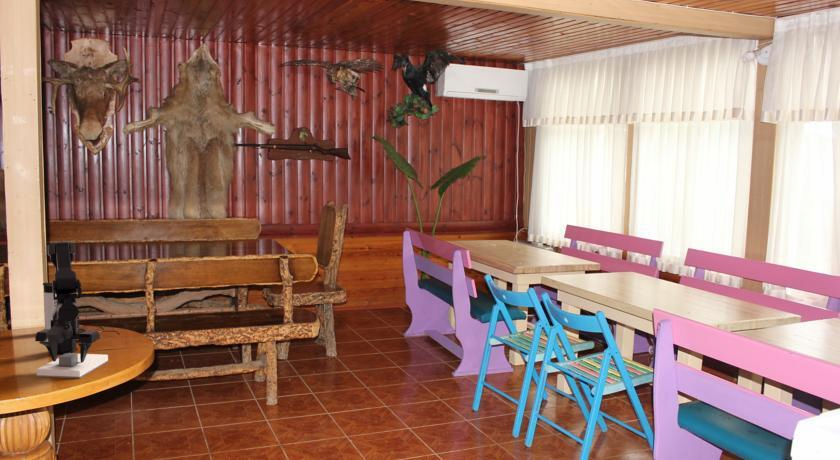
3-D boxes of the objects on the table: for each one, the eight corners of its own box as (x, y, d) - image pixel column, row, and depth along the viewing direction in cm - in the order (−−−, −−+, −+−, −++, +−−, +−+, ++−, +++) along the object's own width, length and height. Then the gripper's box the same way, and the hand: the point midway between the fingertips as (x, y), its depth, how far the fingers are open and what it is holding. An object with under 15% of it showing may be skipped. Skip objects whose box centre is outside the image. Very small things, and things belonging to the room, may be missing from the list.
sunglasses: (66, 336, 274) (66, 324, 274) (103, 332, 286) (103, 320, 286) (85, 343, 265) (85, 330, 265) (122, 338, 277) (122, 326, 277)
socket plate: (36, 376, 224) (36, 369, 224) (68, 360, 242) (67, 353, 242) (79, 378, 224) (79, 370, 223) (107, 361, 242) (107, 354, 241)
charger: (59, 371, 228) (58, 356, 228) (66, 368, 232) (65, 353, 232) (71, 372, 228) (70, 357, 227) (78, 368, 232) (77, 353, 231)
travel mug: (48, 331, 280) (46, 281, 278) (65, 331, 281) (64, 281, 279) (41, 335, 274) (39, 284, 272) (59, 335, 275) (57, 284, 272)
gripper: (23, 319, 220) (25, 368, 222) (81, 321, 219) (83, 370, 221) (44, 311, 232) (46, 358, 233) (99, 313, 231) (101, 360, 232)
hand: (68, 361), depth 230 cm, fingers open, 9 cm apart
